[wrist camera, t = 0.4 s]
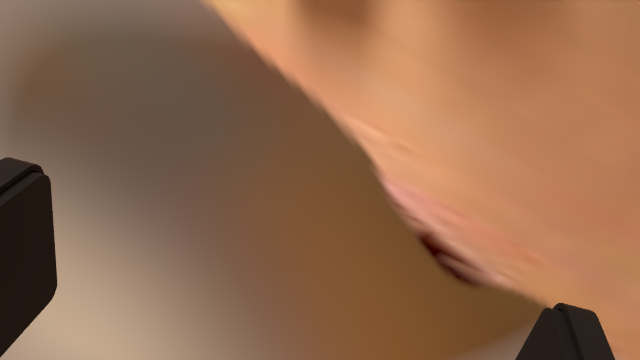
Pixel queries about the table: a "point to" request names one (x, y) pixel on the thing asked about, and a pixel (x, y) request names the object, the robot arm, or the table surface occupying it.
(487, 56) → the table surface
